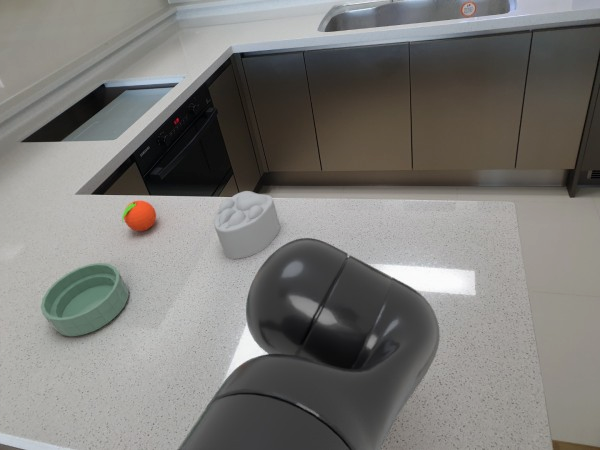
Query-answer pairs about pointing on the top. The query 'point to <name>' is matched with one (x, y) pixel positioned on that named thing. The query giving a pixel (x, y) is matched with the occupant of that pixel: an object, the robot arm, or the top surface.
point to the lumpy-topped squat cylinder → (246, 224)
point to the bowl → (85, 299)
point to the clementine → (139, 215)
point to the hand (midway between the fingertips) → (336, 301)
